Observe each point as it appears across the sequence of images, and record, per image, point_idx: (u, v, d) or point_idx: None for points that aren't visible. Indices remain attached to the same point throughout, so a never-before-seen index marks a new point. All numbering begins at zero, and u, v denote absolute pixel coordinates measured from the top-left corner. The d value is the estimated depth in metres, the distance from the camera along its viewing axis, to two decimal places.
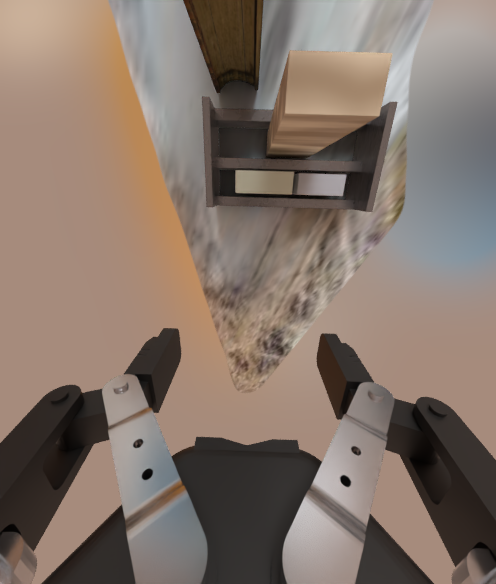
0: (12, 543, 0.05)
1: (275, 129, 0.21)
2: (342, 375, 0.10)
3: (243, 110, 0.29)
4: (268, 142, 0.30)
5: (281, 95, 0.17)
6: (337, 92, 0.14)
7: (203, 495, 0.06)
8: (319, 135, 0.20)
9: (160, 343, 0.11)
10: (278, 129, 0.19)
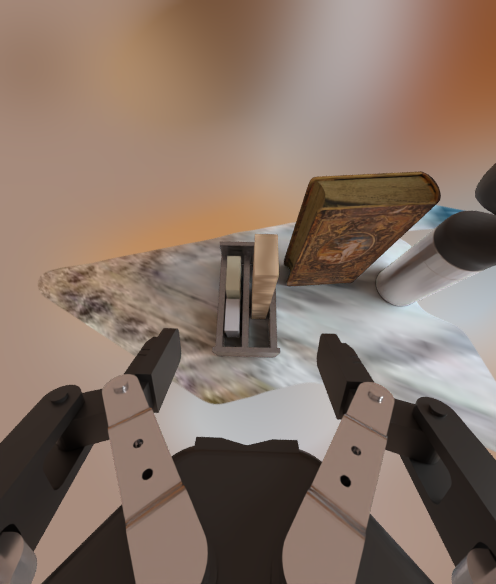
0: (12, 543, 0.05)
1: None
2: (342, 375, 0.10)
3: None
4: None
5: None
6: (263, 254, 0.30)
7: (203, 495, 0.06)
8: (253, 278, 0.35)
9: (160, 343, 0.11)
10: None
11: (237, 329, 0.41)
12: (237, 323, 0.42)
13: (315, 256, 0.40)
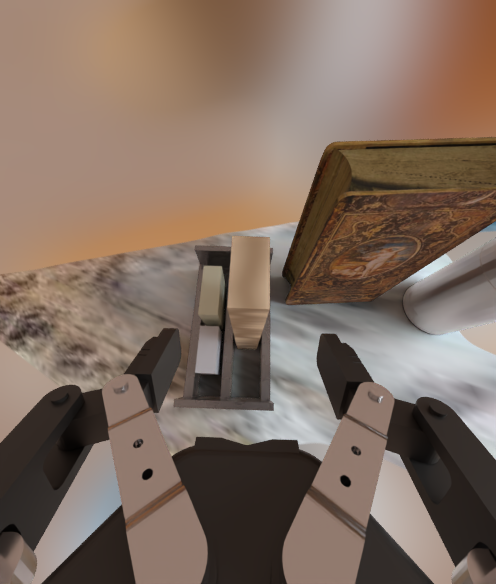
0: (12, 543, 0.05)
1: None
2: (342, 375, 0.10)
3: None
4: None
5: None
6: (245, 271, 0.17)
7: (203, 495, 0.06)
8: None
9: (160, 343, 0.11)
10: None
11: (213, 371, 0.29)
12: (214, 362, 0.29)
13: (327, 269, 0.27)
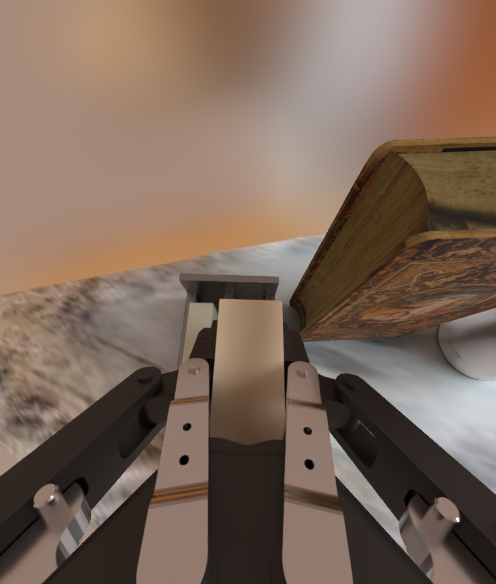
0: (76, 497, 0.06)
1: None
2: None
3: None
4: None
5: None
6: (240, 368, 0.10)
7: None
8: None
9: (215, 332, 0.12)
10: None
11: None
12: None
13: (355, 316, 0.20)
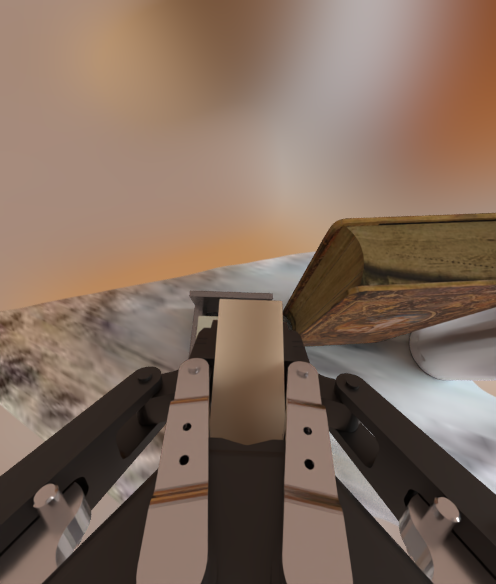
0: (76, 497, 0.06)
1: None
2: None
3: None
4: None
5: None
6: (240, 368, 0.10)
7: None
8: None
9: (215, 332, 0.12)
10: None
11: None
12: None
13: (331, 329, 0.25)
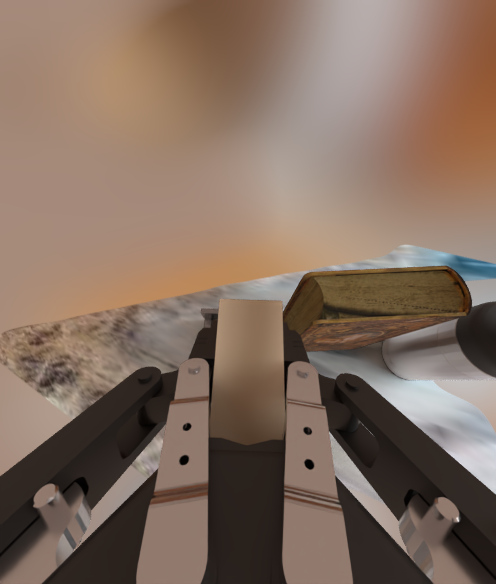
0: (76, 497, 0.06)
1: None
2: None
3: None
4: None
5: None
6: (241, 368, 0.10)
7: None
8: None
9: (215, 332, 0.12)
10: None
11: None
12: None
13: (311, 341, 0.33)
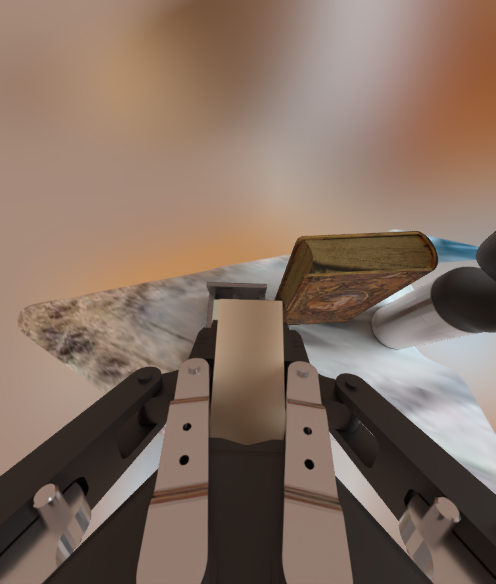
0: (76, 497, 0.06)
1: None
2: None
3: None
4: None
5: None
6: (241, 368, 0.10)
7: None
8: None
9: (215, 332, 0.12)
10: None
11: None
12: None
13: (305, 306, 0.37)
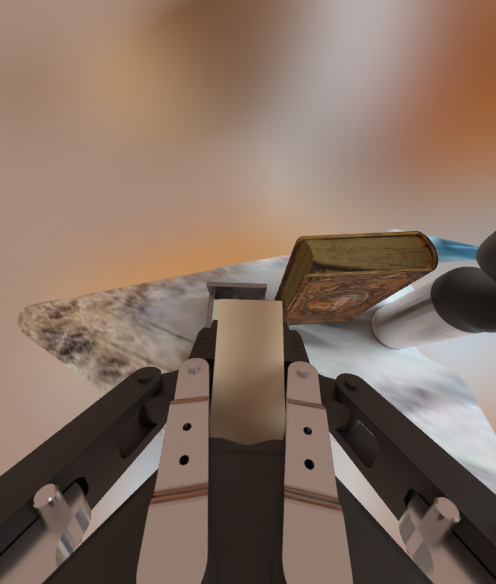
0: (76, 497, 0.06)
1: None
2: None
3: None
4: None
5: None
6: (241, 368, 0.10)
7: None
8: None
9: (215, 332, 0.12)
10: None
11: None
12: None
13: (305, 306, 0.37)
